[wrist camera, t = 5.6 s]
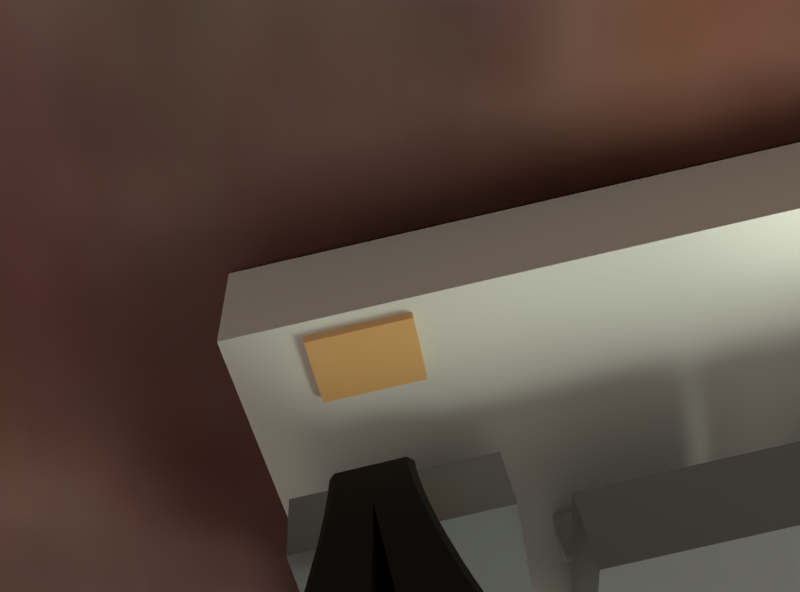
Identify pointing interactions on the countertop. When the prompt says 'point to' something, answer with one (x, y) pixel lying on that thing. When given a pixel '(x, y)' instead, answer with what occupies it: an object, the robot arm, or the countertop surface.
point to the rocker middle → (693, 528)
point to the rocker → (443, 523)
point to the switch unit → (537, 342)
